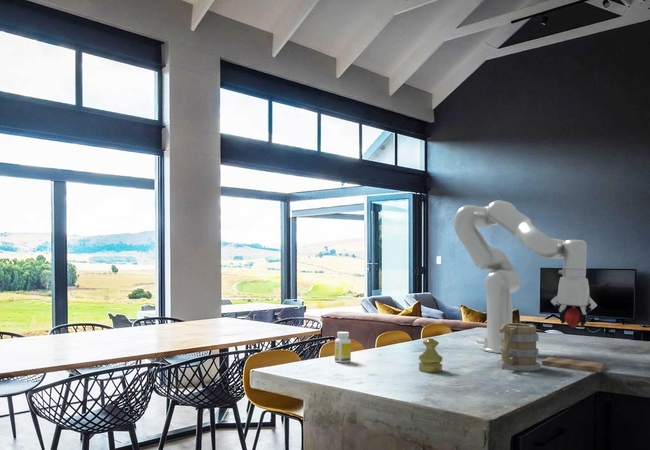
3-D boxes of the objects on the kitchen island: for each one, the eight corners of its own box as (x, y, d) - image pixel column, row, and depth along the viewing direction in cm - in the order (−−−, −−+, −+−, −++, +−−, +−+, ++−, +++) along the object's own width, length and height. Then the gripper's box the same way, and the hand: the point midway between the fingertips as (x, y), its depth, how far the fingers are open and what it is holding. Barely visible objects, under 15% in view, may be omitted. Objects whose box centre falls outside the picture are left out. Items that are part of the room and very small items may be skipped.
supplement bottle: (352, 361, 188) (353, 332, 189) (346, 363, 183) (347, 333, 184) (338, 359, 191) (339, 330, 191) (331, 362, 186) (332, 332, 186)
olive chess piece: (428, 373, 170) (428, 340, 171) (413, 369, 177) (414, 337, 177) (447, 371, 173) (447, 339, 174) (432, 367, 180) (432, 336, 181)
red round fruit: (583, 329, 195) (584, 306, 195) (565, 328, 196) (566, 305, 197) (579, 327, 201) (580, 305, 201) (562, 325, 202) (563, 304, 202)
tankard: (509, 362, 192) (510, 318, 193) (545, 368, 183) (545, 322, 184) (480, 369, 178) (480, 322, 179) (517, 376, 169) (517, 326, 170)
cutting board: (541, 365, 188) (541, 360, 188) (549, 361, 196) (549, 356, 196) (600, 372, 177) (600, 367, 177) (605, 367, 185) (605, 363, 185)
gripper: (546, 272, 201) (545, 322, 201) (598, 275, 191) (596, 328, 191) (552, 272, 207) (550, 320, 207) (602, 275, 197) (601, 326, 197)
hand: (572, 323), depth 199 cm, fingers closed on red round fruit, 5 cm apart
